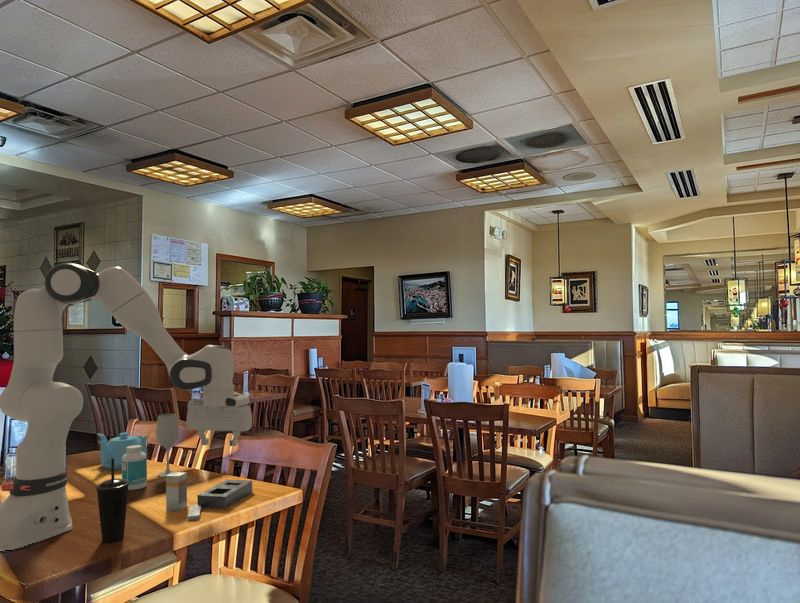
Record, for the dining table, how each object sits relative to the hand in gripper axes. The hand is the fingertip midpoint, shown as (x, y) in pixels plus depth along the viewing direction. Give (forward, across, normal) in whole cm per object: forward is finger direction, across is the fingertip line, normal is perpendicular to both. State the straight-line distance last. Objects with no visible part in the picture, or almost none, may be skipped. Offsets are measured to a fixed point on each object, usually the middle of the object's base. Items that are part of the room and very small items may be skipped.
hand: (219, 445), depth 166 cm
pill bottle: (+17, -37, +9) cm, 42 cm away
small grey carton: (+17, -10, -6) cm, 21 cm away
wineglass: (+17, -36, +25) cm, 47 cm away
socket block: (+17, 0, +4) cm, 17 cm away
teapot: (+17, -62, +33) cm, 73 cm away
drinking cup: (+17, -12, -30) cm, 36 cm away
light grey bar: (+18, -2, -10) cm, 20 cm away
